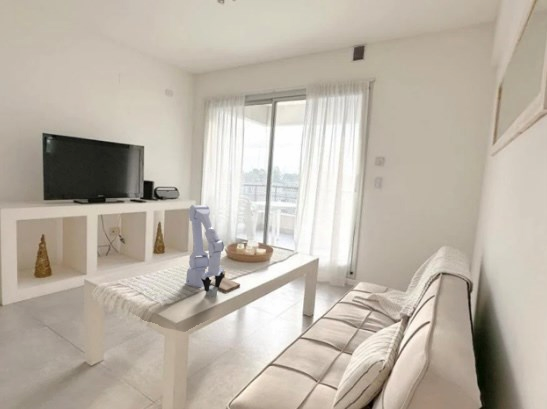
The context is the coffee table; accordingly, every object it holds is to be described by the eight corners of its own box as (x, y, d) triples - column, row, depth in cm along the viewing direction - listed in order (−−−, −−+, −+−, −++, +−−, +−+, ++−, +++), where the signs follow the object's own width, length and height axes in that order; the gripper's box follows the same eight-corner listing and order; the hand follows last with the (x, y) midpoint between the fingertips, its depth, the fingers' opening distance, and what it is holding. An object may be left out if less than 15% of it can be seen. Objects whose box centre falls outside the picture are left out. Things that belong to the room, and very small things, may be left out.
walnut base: (225, 292, 162) (225, 290, 162) (209, 285, 169) (209, 283, 169) (239, 286, 172) (240, 284, 172) (224, 280, 179) (224, 277, 179)
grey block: (211, 297, 156) (212, 289, 155) (205, 294, 158) (206, 287, 157) (216, 294, 159) (217, 287, 158) (211, 292, 161) (211, 285, 160)
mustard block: (220, 278, 181) (220, 272, 180) (215, 276, 183) (216, 270, 182) (224, 276, 184) (225, 270, 183) (220, 274, 186) (220, 268, 186)
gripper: (209, 269, 148) (207, 295, 150) (229, 263, 160) (227, 287, 162) (199, 265, 152) (197, 291, 153) (219, 259, 164) (217, 283, 165)
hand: (211, 289), depth 158 cm, fingers open, 7 cm apart
